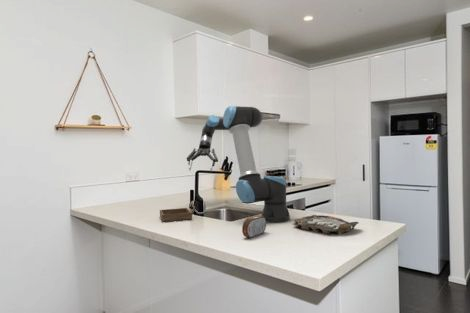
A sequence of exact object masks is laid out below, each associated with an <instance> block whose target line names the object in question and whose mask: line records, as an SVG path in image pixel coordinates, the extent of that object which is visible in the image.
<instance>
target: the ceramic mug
mask: <svg viewBox="0 0 470 313" xmlns="http://www.w3.org/2000/svg"><path fill="white" fill-rule="evenodd" d="M194 201H195V200H191V201H190V202H189V206H188V207H189V208H188V209H189V210H190V211H191V212H192V214H195V213H194V211H195V212H196V214H198V215H203V214H205V213H206V209H207V208H206V207H207V204H206V202H205V200H204V199H203V212H198V211H197V210H196V209H195V206H194ZM191 205H192V207H193V209H191V208H190V207H191Z"/></svg>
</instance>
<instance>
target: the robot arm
mask: <svg viewBox="0 0 470 313" xmlns="http://www.w3.org/2000/svg"><path fill="white" fill-rule="evenodd" d="M262 121H263V114H262V111H261V110H259V109H258V108H257V107H255V106H239V105H238V106H237V105H231V106H227V107H226V109H225V110H224V113H223V118H220V117H218V116H217V115H215V114H212V115H209V116H208V118H207V120H206V123H205V124H204V125H203V127H202V131H201V136H200V139H199V140H200V141H199V146H198V149H196V148H195V147H194V148H193V150H192V151H191V152H190V154H188V156H187V157H186V161H187V162H188V163H187V164H188V171H190V172H191V170H192V168H193V167H192V166H193V161H195V160H196V159H197V158H199V157H200V156H202V157H206V156H207V157H208V158H209V159H210V160H211V162H210V172H213V167H215V165H216V163H218V162H219V159H218V156H217V154H216V152H215V148H212V149H211V146H212V140H213V136H214V135H215V134H214V133H215V131H228V132H229V133H230V134H232V138H233V143H234V144H233V145H234V149H235V154H236V158H237V163H238V169H239V173H240V175H239V177H238V180H237V181H236V184H235V192H236V194H237V197H238V199H239V200H240V201H241V202H243V203H256V202H264V203H263V204H264V205H263V208H262V211H261V215H260V216H263V217H265V219H266V221H269V222H268V223H285V222H289V221H290V220H291V215H290V212H289V209H288V207H287V180H286V178H285V177H282V176H274V175H264V176H263V178H262V176H261V173H260V172H258V171H257V167H256V161H255V158H254V153H253V149H252V144H251V140H250V134H249V130H250V129H251V128H255V127H259V125H261V123H262ZM288 220H289V221H288ZM284 221H285V222H284Z"/></svg>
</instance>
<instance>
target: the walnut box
mask: <svg viewBox="0 0 470 313" xmlns="http://www.w3.org/2000/svg"><path fill="white" fill-rule="evenodd" d="M159 217H160V220H161V222H162V223H163V222H165V223H174V221H176V222H184V221H183V220H188V221H193V213H192V212H191V211H190V208H187V207H183V208H182V207H181V208H169V209H168V208H167V209H159Z"/></svg>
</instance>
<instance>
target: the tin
mask: <svg viewBox="0 0 470 313" xmlns="http://www.w3.org/2000/svg"><path fill="white" fill-rule="evenodd" d="M241 228H242V230H241V232H242V234H243V236H244V237H245V238H249V239H252V238H255V237H257V236H256V235H258V236H260V235H259V234H261V235H262V233H263V234H264V233H265V231H266V230H267V229H266V228H267V222H266V219H265V217H263V216H261V215H259V214H258V215H254V216H250V217H247V218H246V219H245V220H244V222H243V225H242V227H241ZM254 236H255V237H254ZM251 237H252V238H251Z"/></svg>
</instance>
